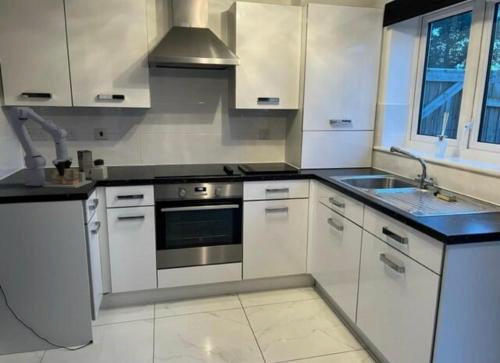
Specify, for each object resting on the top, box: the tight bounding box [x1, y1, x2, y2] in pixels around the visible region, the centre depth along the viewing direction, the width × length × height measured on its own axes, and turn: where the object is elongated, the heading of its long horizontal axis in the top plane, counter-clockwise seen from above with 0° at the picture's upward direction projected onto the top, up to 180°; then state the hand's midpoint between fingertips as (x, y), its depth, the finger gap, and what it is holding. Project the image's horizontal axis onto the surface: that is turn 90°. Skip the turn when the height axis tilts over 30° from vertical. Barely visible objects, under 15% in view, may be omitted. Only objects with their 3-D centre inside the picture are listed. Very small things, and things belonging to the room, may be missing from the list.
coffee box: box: [76, 149, 94, 178], centre depth 233 cm, size 9×6×16 cm
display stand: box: [42, 171, 92, 189], centre depth 209 cm, size 20×15×6 cm
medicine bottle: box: [91, 158, 109, 181], centre depth 224 cm, size 7×7×12 cm
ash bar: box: [49, 167, 79, 180], centre depth 206 cm, size 14×4×5 cm, turn 81°
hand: (64, 175), depth 206 cm, fingers closed on ash bar, 4 cm apart
